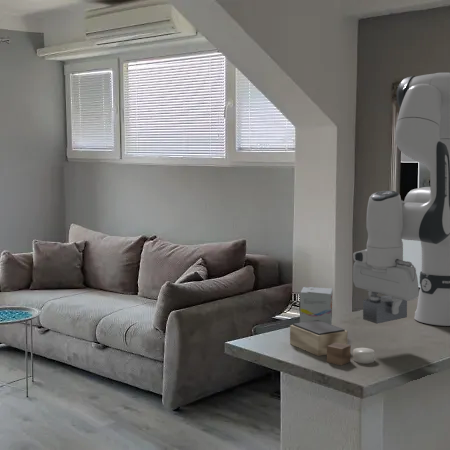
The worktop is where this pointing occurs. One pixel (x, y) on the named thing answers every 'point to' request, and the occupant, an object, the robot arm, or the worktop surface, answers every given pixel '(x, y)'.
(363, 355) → the white egg shape
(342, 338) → the stand
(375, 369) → the worktop surface
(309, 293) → the ink box
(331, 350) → the walnut block
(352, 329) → the worktop surface
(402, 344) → the worktop surface
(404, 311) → the block
